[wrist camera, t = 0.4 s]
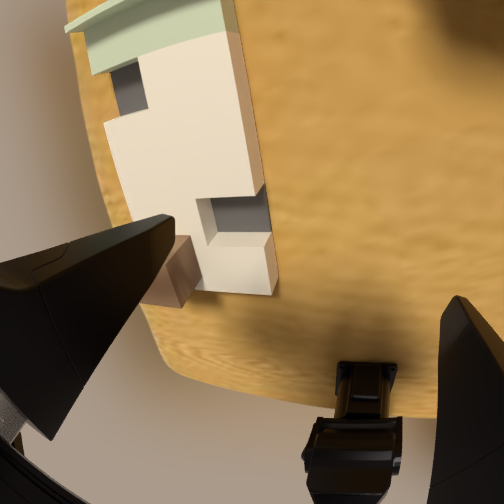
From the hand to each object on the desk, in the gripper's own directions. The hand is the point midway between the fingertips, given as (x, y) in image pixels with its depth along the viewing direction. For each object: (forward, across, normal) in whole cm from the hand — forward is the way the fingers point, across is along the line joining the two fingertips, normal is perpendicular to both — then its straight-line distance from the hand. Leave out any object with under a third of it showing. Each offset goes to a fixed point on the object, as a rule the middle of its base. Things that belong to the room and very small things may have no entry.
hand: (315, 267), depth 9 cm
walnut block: (+11, +11, +11) cm, 19 cm away
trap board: (+14, +11, +2) cm, 18 cm away
